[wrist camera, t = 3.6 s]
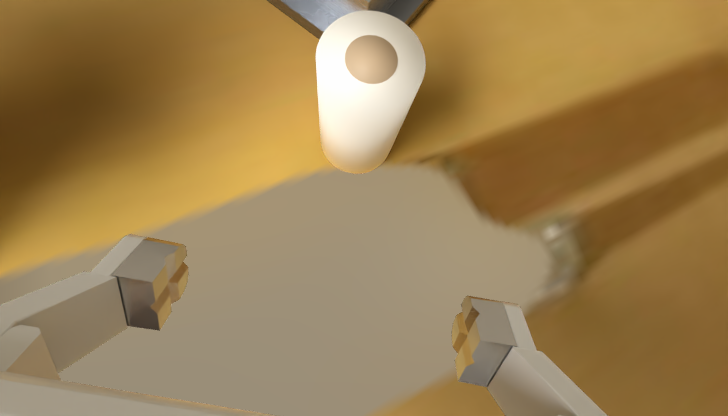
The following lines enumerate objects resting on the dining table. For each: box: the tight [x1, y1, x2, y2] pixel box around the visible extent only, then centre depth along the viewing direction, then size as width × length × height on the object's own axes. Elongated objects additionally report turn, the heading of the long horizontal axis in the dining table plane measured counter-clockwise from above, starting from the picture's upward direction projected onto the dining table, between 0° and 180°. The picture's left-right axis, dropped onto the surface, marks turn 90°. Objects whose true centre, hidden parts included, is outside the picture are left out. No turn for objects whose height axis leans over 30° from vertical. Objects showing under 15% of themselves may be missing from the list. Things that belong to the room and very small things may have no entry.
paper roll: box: [316, 11, 426, 174], centre depth 22 cm, size 5×5×10 cm
